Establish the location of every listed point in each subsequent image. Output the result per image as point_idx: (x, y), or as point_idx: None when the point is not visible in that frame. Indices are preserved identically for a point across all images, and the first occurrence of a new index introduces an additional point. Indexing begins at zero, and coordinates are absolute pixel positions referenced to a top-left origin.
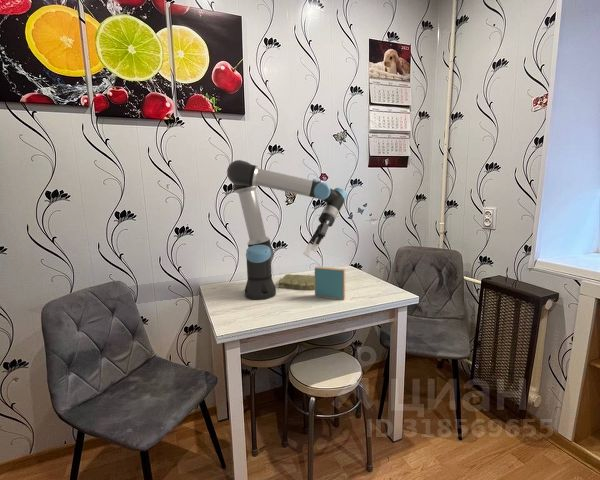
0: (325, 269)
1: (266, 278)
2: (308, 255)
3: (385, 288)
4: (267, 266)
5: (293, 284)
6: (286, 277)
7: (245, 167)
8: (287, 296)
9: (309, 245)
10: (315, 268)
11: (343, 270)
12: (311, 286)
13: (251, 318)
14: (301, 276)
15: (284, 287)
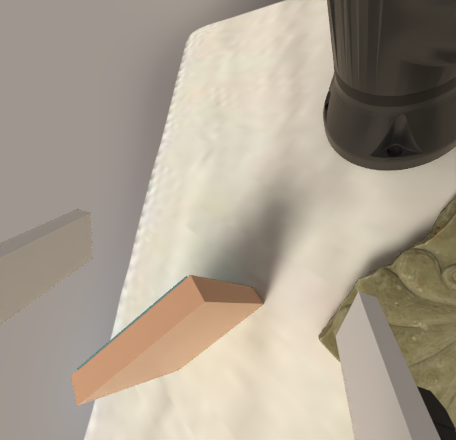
0: (144, 315)
1: (336, 74)
2: (338, 343)
3: None
4: (334, 26)
5: (399, 257)
6: None
7: None
8: (311, 198)
9: (393, 438)
10: (187, 279)
11: (73, 374)
12: (330, 326)
13: (218, 79)
14: None
15: (435, 226)
